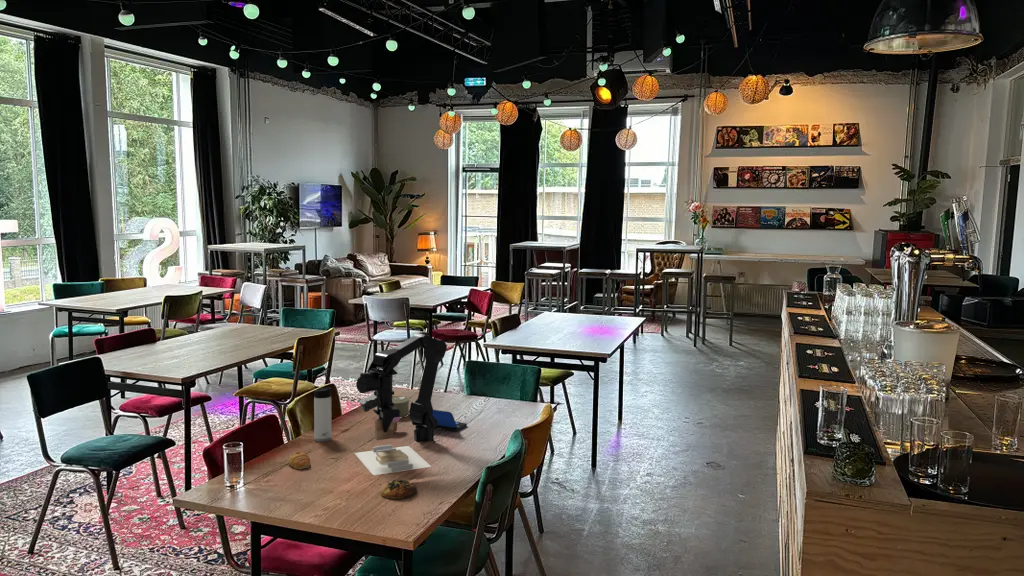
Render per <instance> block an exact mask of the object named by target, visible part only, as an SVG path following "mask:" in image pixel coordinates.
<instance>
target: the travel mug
mask: <svg viewBox="0 0 1024 576" xmlns="http://www.w3.org/2000/svg"><path fill="white" fill-rule="evenodd" d="M332 389H333V388H332V387H320V388H319V387H318V388H317V389H316V390H314V392H313V395H314V396H313V397H314V398H313V409H314V410H313V414H314V415H313V416H314V417H313V420H314V421H313V422H314V430H313V432H314V433H313V434H314V435H313V436H314V441H315V442H318V443H319V442H320V443H326V442H329V441H331V440H332ZM325 441H326V442H325Z"/></svg>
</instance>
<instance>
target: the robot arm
mask: <svg viewBox="0 0 1024 576" xmlns="http://www.w3.org/2000/svg"><path fill="white" fill-rule="evenodd" d="M419 348H422V349H423V356H424V360H425V362H424V367H423V368H424V369H423V372H422V377H421V381H420V385H419V391H418V395H417V399H416V400H415V401H414V402H413V401H412V402H410V406H409V415H408V418H409V419H410V421H411V423H412V425H413V426H415V429H414V431H413V439H414V441H415V442H417V443H418V442H421V443H423V442H425V443H427V442H431V441H432V442H433V443H434V444H435V443H436V441H435V440H434V439H435V437H434V436H435V434H434V433H435V431H434V429H436V428H435V427H437V424H438V421H437V420H436V419H435V418H434V416H433V410H434V407H433V404H432V396H433V392H434V388H435V387H434V386H435V382H436V377H437V374H438V368H439V364H440V362H441V361H442V360H443V359H444V358H445V355H446V353H447V349H448V345H447V343H446V341H445V340H443V339H438V338H434V337H431V336H429V335H428V334H426V333H420V332H417V333H415V334H414V335H413V336H411V337H410V338H408V339H406V340H404V341H403V342H401V343H399V344H398V345H396V346H395V347H393V348H389V349H385V350H381V351H378V352H377V353H375V354H374V356H373V359H372V361H371V363H370V365H369V366H368V369H367V370H366V372H361V373H360V375H359V377H358V378H357V379H356V383H355V385H356V389H357V391H358V392H359V393H360V394H365V393H366V394H367V393H371V392H373V395H371V396H368V397H365V398H363V399H361V400H360V401H359V404H360V407H361V409H362V411H363V412H364V413H366V412H369V411H371V410H372V411H373V413H375V414H376V415H377V417H378V418H379V419H382V426H383V431H384V432H387V431H388V429H389V426H390V424H391V422H392V420H393V418H395V417H400V410H398V409H397V408H396V407H391V406H394V403H393V402H392V400H393V396H395V391H394V389H393V385H394V383H393V382H394V381H393V380H394V379H393V377H394V375H398V372H397V371H396V369H394V368H396V367H398V365H399V363H400V362H401V360H402V359H403V358H405V357H407V356H408V355H410V354H412V353H413V352H414V351H417V350H418V349H419ZM378 418H377V419H378Z"/></svg>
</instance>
